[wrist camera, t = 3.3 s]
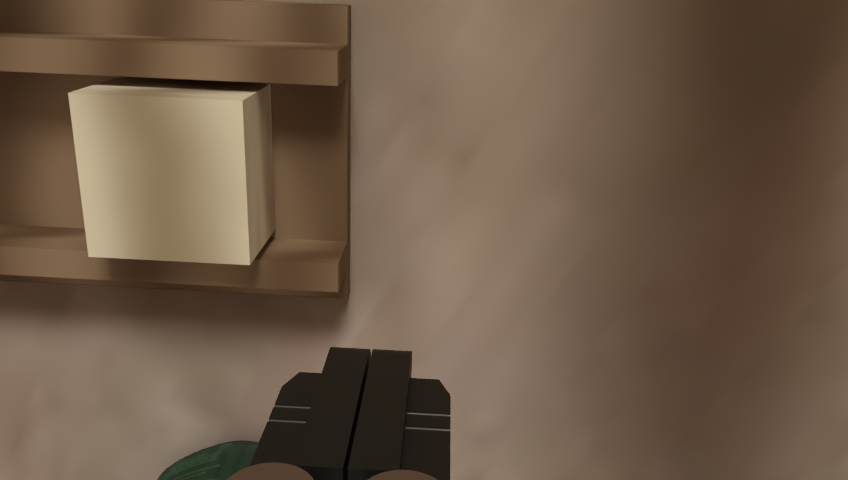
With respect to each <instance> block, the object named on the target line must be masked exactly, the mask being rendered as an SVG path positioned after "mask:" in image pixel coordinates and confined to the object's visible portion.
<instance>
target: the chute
mask: <svg viewBox="0 0 848 480" xmlns="http://www.w3.org/2000/svg"><path fill="white" fill-rule="evenodd" d="M350 43H351V5H335V4H311V3H286V2H262V1H238V0H0V280H5V281H24V282H43V283H62V284H81V285H100V286H119V287H138V288H157V289H176V290H195V291H214V292H233V293H252V294H271V295H290V296H309V297H328V298H347V297H348V294H349V292H350ZM117 77H130V78H152V79H175V80H197V81H220V82H243V83H265V84H271V113H272V144H273V174H274V205H275V231H274V232H273V233H272V235H271V236H270V238H269V239H268V240H267V242H266V243H265V245H264V246H263V248H262V249H261V250H260V252H259V253H258V255H257V256H256V257H255V259H254V260H253V262H252V263H251V264H250V265H237V264H217V263H198V262H179V261H159V260H140V259H120V258H101V257H88V249H87V241H86V233H85V225H84V217H83V209H82V201H81V193H80V185H79V177H78V169H77V161H76V153H75V145H74V137H73V129H72V121H71V113H70V105H69V97H68V93H69V92H72V91H75V90H79V89H82V88H85V87H88V86H91V85H95V84H98V83H101V82H104V81H107V80H110V79H114V78H117Z"/></svg>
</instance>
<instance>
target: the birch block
mask: <svg viewBox="0 0 848 480" xmlns="http://www.w3.org/2000/svg"><path fill="white" fill-rule="evenodd" d="M68 97H69V105H70V113H71V121H72V129H73V137H74V145H75V153H76V161H77V169H78V177H79V185H80V193H81V201H82V209H83V217H84V225H85V233H86V241H87V249H88V257H101V258H120V259H140V260H159V261H179V262H198V263H217V264H237V265H250V264H251V263H252V262H253V260H254V259H255V257H256V256H257V255H258V253H259V252H260V250H261V249H262V248H263V246H264V245H265V243H266V242H267V240H268V239H269V238H270V236H271V235H272V233H273V232H274V231H275V205H274V174H273V144H272V113H271V84H265V83H243V82H220V81H197V80H175V79H152V78H130V77H117V78H114V79H110V80H107V81H104V82H101V83H98V84H95V85H91V86H88V87H85V88H82V89H79V90H75V91H72V92H69V93H68Z"/></svg>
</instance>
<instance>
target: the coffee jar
mask: <svg viewBox="0 0 848 480" xmlns="http://www.w3.org/2000/svg"><path fill="white" fill-rule="evenodd" d="M258 444H259V443H257V442H252V441H233V442H227V443H223V444H218V445H215V446H212V447H209V448H206V449H203V450H200V451H198V452H195V453H193V454H191V455H189V456H186V457H184V458H183V459H181V460H179V461H177V462H176V463H174V464H173V465H171V466H170V467H168V468H167V469H166V470H165V471H164V472H163V473H162V474H161V475H160V477H159V478H158V480H227V479H228V478H229V477H230V476H232V475H233V474H235V473H236V472H238V471H240V470H242V469H244V468H247V467H249V466H250V464H251V461H252V459H253V456H254V454H255V451H256V449H257V446H258Z"/></svg>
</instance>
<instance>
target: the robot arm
mask: <svg viewBox="0 0 848 480" xmlns="http://www.w3.org/2000/svg"><path fill="white" fill-rule="evenodd" d="M411 371H412V351H395V350H377V349H373V351H372V355H371V352H370V349H356V348H338V347H331V348H330V350H329V353H328V356H327V359H326V362H325V365H324V368H323V371H322V373H305V372H299V373H298V374H297V375H296V376H294V377H293V378H292V379H291V380H290V381H288V382H287V383H286V384H285V385H283V386H282V388H281V390H280V393H279V395H278V398H277V400H276V403H275V407H273V410H272V412H271V415H270V417H269V422H267V425H266V427H265V429H264V432H263V434H262V437H261V439H260V442H259V444H258V446H257V449H256V451H255V454H254V456H253V459H252V461H251V464H250V466H249V467H247V468H244V469H242V470H240V471H238V472H236V473H235V474H233V475H232V476H230V477H229V478H228V479H227V480H450V394H449V393H448V392H447V390H446V389H445V387H444V386H443V385H442V383H441V382H440V380H436V379H417V378H411Z"/></svg>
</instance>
